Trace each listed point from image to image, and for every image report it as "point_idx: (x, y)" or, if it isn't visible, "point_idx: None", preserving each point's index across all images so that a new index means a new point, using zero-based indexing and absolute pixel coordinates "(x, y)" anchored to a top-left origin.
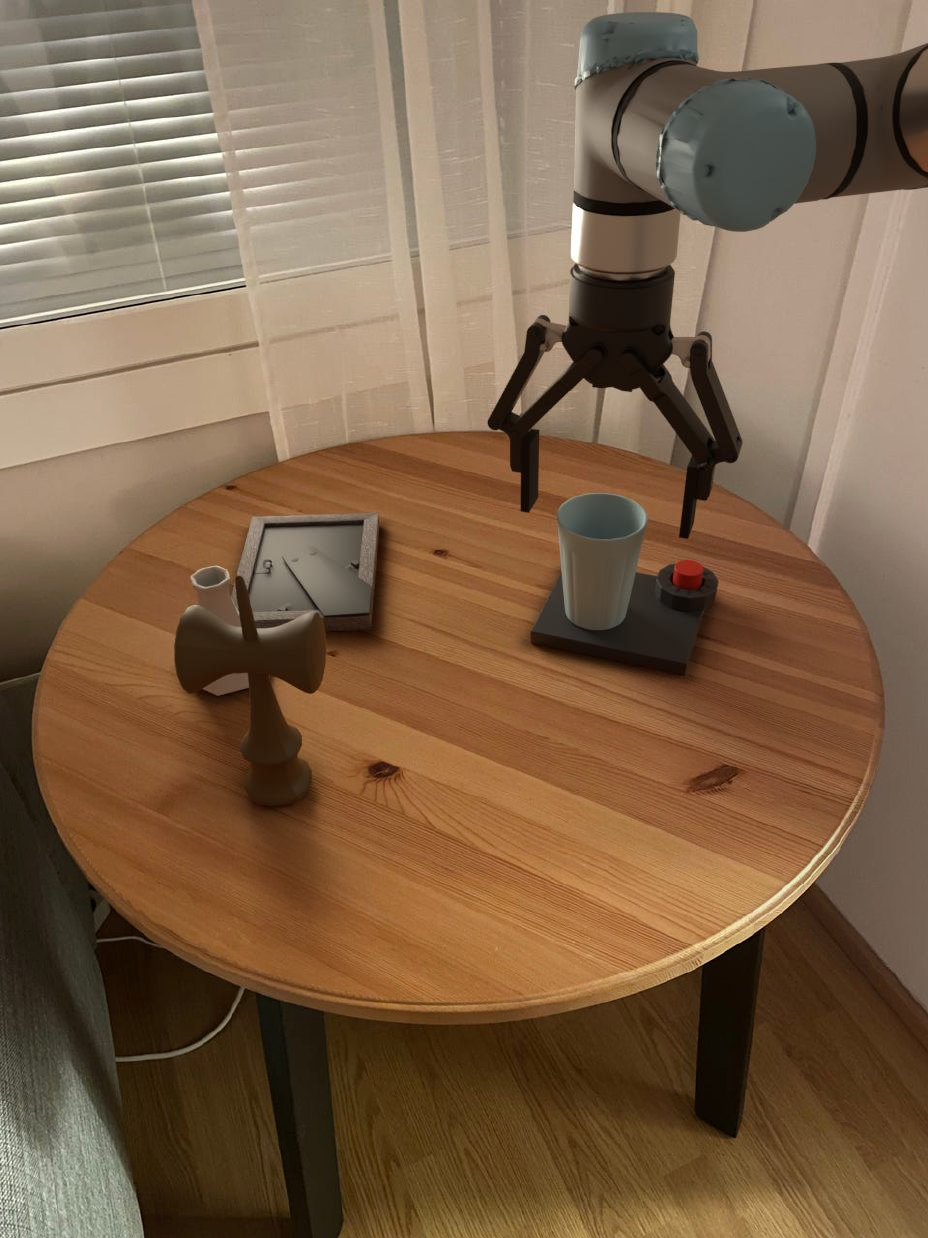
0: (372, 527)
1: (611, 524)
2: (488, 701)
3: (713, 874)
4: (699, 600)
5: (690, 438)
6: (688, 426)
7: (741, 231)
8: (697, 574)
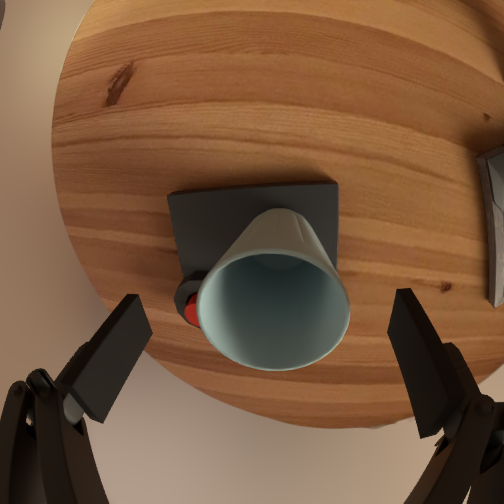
0: (498, 288)
1: (274, 332)
2: (340, 79)
3: (105, 17)
4: (182, 282)
5: (46, 432)
6: (39, 454)
7: None
8: (186, 307)
